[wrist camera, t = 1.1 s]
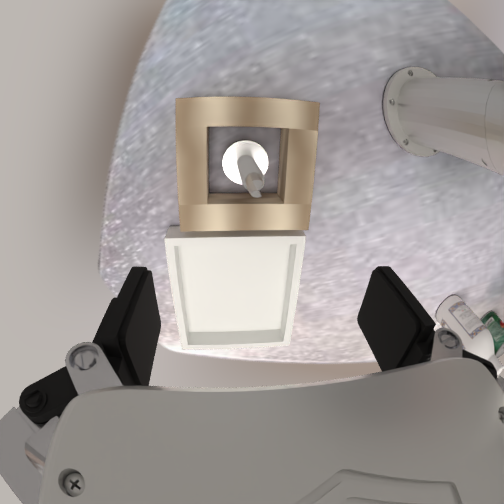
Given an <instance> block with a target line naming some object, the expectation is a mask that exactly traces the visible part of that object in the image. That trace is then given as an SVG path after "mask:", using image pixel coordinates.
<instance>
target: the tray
mask: <svg viewBox="0 0 504 504" xmlns="http://www.w3.org/2000/svg"><path fill="white" fill-rule="evenodd" d="M164 239H165V248H166V256H167V264H168V271H169V278H170V285H171V291H172V297H173V303H174V309H175V315H176V321H177V326H178V331H179V336H180V342H181V346H182V349H183V350H206V349H243V348H262V347H277V346H289V345H290V339H291V334H292V328H293V322H294V316H295V310H296V304H297V297H298V291H299V284H300V277H301V270H302V263H303V256H304V248H305V240H306V235H305V234H304V232H303V231H302V230H237V231H187V232H181V231H180V226H169V229H168V231H167V233H166V236H165V238H164Z"/></svg>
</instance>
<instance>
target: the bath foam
mask: <svg viewBox="0 0 504 504" xmlns="http://www.w3.org/2000/svg"><path fill="white" fill-rule="evenodd" d="M436 319H437V321H438V322H439V323H440V325H441V326H442V327H443V328H448V329H450V330H452V331H454V332H455V333H457V334H458V335H459V337H460V338H461V340H462V344H463V346H462V349H464V350H466V351H468V352H470V353H472V354H475V355H477V356H479V357H481V358H484V359H486V360H488V361H490V362H491V363H492V364H493V365H494V367H495V368H496V371H497V376H498V374H499V373H500V372H501V371H502V370H503V368H504V366H503V365H502V363H501V362H500V361H499V359H498V358H497V357H496V356H495V354H494V342H493V338H492V335H491V333H490V331H489V330H488V329H487V327H486V326H485V325H484V324H483V323H482V322H481V320H480V319H479V318H478V317H477V316H476V315H475V314H474V313H473V311H472V310H471V309H470V308H469V307H468V306H467V305H466V304H465V303H464V302H463V301H462V300H461V299H460V297H458V296H456V295H453V296H450V297H448V298H447V299H446V300H445V301H444V302H443V303H442V304H441V305H440V307H439V308H438V310H437V313H436Z"/></svg>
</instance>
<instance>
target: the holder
mask: <svg viewBox="0 0 504 504" xmlns="http://www.w3.org/2000/svg"><path fill="white" fill-rule="evenodd" d="M319 106H320V103H318V102H310V101H301V100H290V99H278V98H261V97H193V98H176V163H177V186H178V203H179V218H180V231H181V232H187V231H237V230H308V228H309V220H310V211H311V202H312V193H313V183H314V172H315V161H316V150H317V137H318V122H319ZM217 126H243V127H273V128H281V136H280V155H279V172H278V189H277V193H261V195H262V196H261V197H258V198H256V197H252V196H251V194H250V193H209V127H217Z"/></svg>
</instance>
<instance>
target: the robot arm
mask: <svg viewBox="0 0 504 504" xmlns="http://www.w3.org/2000/svg"><path fill="white" fill-rule="evenodd" d="M389 101H390V103H389ZM383 109H384V116H385V121H386V124H387V127H388V129H389V131H390V133H391V135H392V137H393V138H394V140H395V141H396V142H397V144H398V145H399V146H400V147H402V148H403V149H404V150H405V151H407V152H409V153H411V154H414V155H416V156H421V157H429V156H432V155H435V154H437V153H438V152H443V153H446V154H449V155H452V156H455V157H458V158H461V159H463V160H466V161H469V162H471V163H474V164H476V165H479V166H481V167H484V168H486V169H489V170H491V171H493V172H496V173H498V174H500V175H502V176H504V81H499V80H490V79H478V78H455V77H437V76H436V75H435V74H433V73H432V72H430V71H429V70H427V69H424V68H421V67H407V68H404V69H401V70H399V71H398V72H396V73H395V74H394V75H393V76H392V77H391V78H390V80H389V82H388V84H387V86H386V89H385V93H384V100H383ZM357 321H358V324H359V326H360V328H361V330H362V332H363V334H364V336H365V338H366V340H367V342H368V344H369V346H370V348H371V350H372V352H373V354H374V356H375V358H376V360H377V362H378V364H379V366H380V368H381V370H382V372H378V373H372V374H367V375H361V376H355V377H349V378H343V379H336V380H328V381H321V382H312V383H303V384H293V385H280V386H264V387H241V388H190V387H188V388H187V387H163V386H149V381H150V376H151V370H152V366H153V361H154V356H155V351H156V346H157V342H158V338H159V333H160V329H161V320H160V315H159V310H158V305H157V300H156V294H155V288H154V283H153V277H152V272H151V271H149V270H147V268H146V267H132V268H131V270H130V272H129V274H128V276H127V278H126V280H125V282H124V284H123V286H122V288H121V290H120V293H119V295H118V297H117V298H113V299H112V301H111V303H110V305H109V307H108V309H107V311H106V313H105V315H104V317H103V319H102V322H101V324H100V326H99V328H98V331H97V333H96V335H95V338H94V340H93V342H92V343H91V342H83V343H80V344H77V345H76V346H74V347H72V348H71V349H70V350H69V351H68V353H67V355H66V359H65V362H66V366H65V367H63V368H61V369H60V370H58V371H56V372H54V373H52V374H50V375H48V376H47V377H45V378H43V379H41V380H39V381H37V382H35V383H33V384H31V385H30V386H28V387H26V388H25V389H24V390H23V392H22V393H21V396H20V400H19V404H20V406H19V407H18V408H17V409H16V408H15V407H13V408H12V409H11V410H10V411H9V412H8V413H7V414H6V415H5V416H4V417H3V418H2V419H1V420H0V474H1V476H2V477H3V478H4V480H5V481H6V483H7V484H8V485H9V487H10V488H11V489H12V491H13V492H14V493H15V495H16V496H17V497H18V498H19V500H20V501H21V502H22V503H23V504H504V379H503V378H502V377H501V376H499V377H498V378H497V371H496V368H495V367H494V365H493V364H492V363H491V362H490V361H488V360H486V359H484V358H481V357H479V356H477V355H475V354H472V353H470V352H468V351H466V350H464V349H462V346H463V344H462V340H461V338H460V337H459V335H458V334H457V333H455V332H454V331H452V330H450V329H448V328H439V329H437V330H436V332H435V331H434V327H435V325H436V324H435V322H434V321H433V320H432V318H431V317H430V316H429V314H428V313H427V312H426V310H425V309H424V308H423V306H422V305H421V304H420V303H419V301H418V300H417V299H416V298H415V296H414V295H413V294H412V293H411V291H410V290H409V289H408V288H407V286H406V285H405V284H404V283H403V282H402V280H401V279H400V278H399V277H398V276H397V274H396V273H395V272H394V271H393V270H392V269H391V267H389V266H378V267H377V268H376V269H375V270H373V272H372V274H371V278H370V281H369V284H368V287H367V290H366V293H365V296H364V299H363V302H362V305H361V308H360V311H359V314H358V318H357Z"/></svg>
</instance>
